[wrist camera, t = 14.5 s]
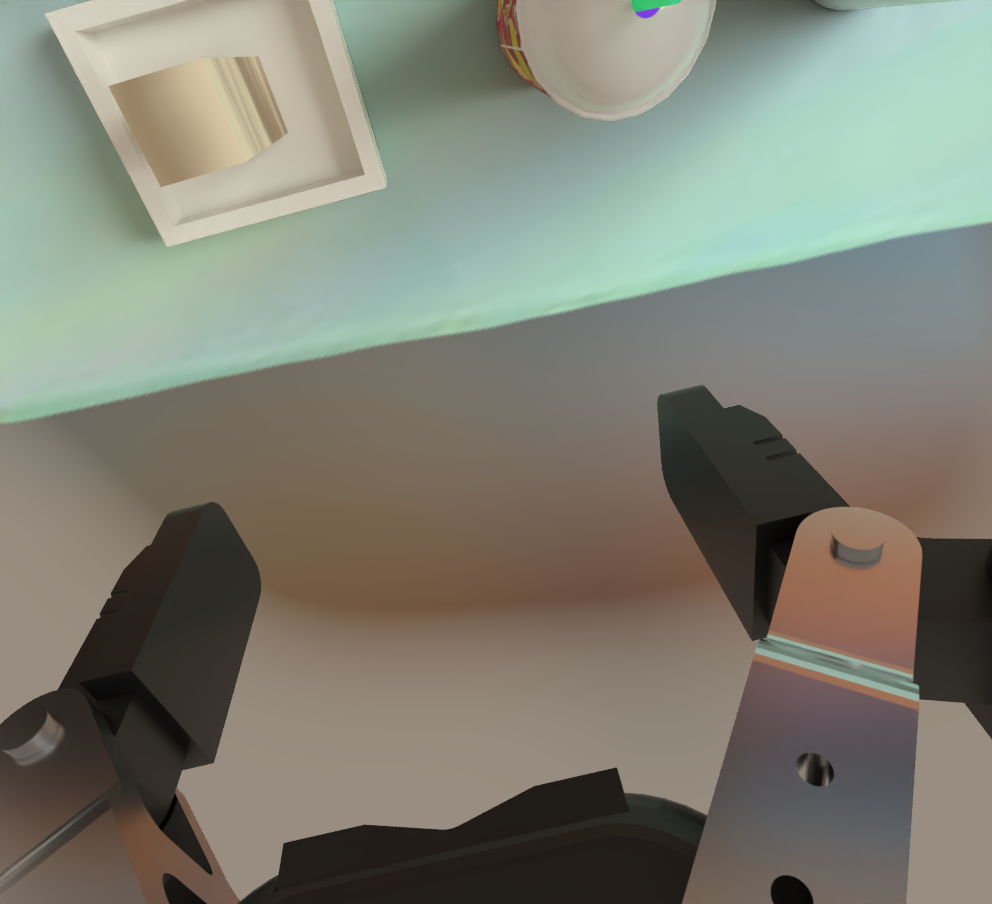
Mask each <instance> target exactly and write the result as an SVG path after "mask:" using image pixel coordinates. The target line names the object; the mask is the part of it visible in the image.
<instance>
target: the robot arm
mask: <svg viewBox="0 0 992 904" xmlns="http://www.w3.org/2000/svg"><path fill="white" fill-rule="evenodd" d="M814 1H815V2H817V3H818V4H820V5H822V6H823V7H827V8H830V9H834V10H855V9H866V8H877V7H891V6H902V5H913V4H923V3H934V2H945V1H955V0H814ZM657 406H658V420H659V421H658V422H659V436H660V449H661V464H662V471H663V476H664V480H665V484H666V487H667V490H668V493H669V495H670V497H671V499H672V501H673V503H674V505H675V506H676V508H677V510H678V512H679V513H680V515H681V517H682V519H683V521H684V522H685V524H686V526H687V528H688V529H689V531H690V533H691V535H692V536H693V538H694V540H695V542H696V543H697V545H698V547H699V549H700V550H701V552H702V554H703V556H704V557H705V559H706V561H707V563H708V564H709V566H710V568H711V570H712V571H713V573H714V575H715V577H716V579H717V580H718V582H719V584H720V586H721V587H722V589H723V591H724V593H725V594H726V596H727V598H728V600H729V601H730V603H731V605H732V607H733V608H734V610H735V612H736V614H737V615H738V617H739V619H740V621H741V622H742V624H743V626H744V628H745V629H746V631H747V633H748V635H749V636H750V638H751V640H752V641H754V640H757V639H761V640H760V641H759V643H758V645H757V648H756V651H755V653H754V657H753V660H752V663H751V667H750V670H749V674H748V677H747V681H746V684H745V688H744V691H743V695H742V698H741V702H740V705H739V708H738V712H737V715H736V719H735V722H734V726H733V729H732V732H731V736H730V740H729V743H728V746H727V750H726V753H725V757H724V760H723V764H722V767H721V770H720V774H719V777H718V781H717V784H716V788H715V791H714V795H713V798H712V802H711V805H710V808H709V812H708V815H705V814H703V813H701V812H699V811H697V810H694V809H692V808H690V807H688V806H686V805H683V804H680V803H677V802H674V801H670V800H668V799H665V798H660V797H654V796H649V795H644V794H634V793H624V791H623V788H622V784H621V780H620V777H619V773H618V770H617V768H612V769H608V770H603V771H599V772H595V773H590V774H586V775H582V776H577V777H573V778H568V779H564V780H560V781H556V782H551V783H546V784H542V785H537V786H534V787H532V788H530V789H528V790H526V791H524V792H522V793H520V794H519V795H517V796H515V797H513V798H511V799H509V800H507V801H505V802H503V803H501V804H499V805H498V806H496V807H494V808H492V809H490V810H488V811H486V812H484V813H482V814H481V815H479V816H477V817H475V818H473V819H471V820H469V821H467V822H465V823H463V824H462V825H460V826H457V827H455V828H452V829H447V830H438V829H421V828H407V827H391V826H390V827H389V826H376V825H362V826H357V827H353V828H348V829H344V830H340V831H335V832H331V833H326V834H322V835H317V836H314V837H309V838H305V839H300V840H296V841H291V842H287V843H284V844H283V850H282V857H281V863H280V869H279V875H277V876H276V877H274V878H272V879H270V880H269V881H267V882H266V883H264V884H263V885H262V886H260V887H258V888H257V889H255V890H254V891H252V892H251V893H250V894H249V895H247V896H246V897H245V898H244V899H243V900H241V901H240V900H239V899H238V897H237V896H236V894H235V893H234V891H233V890H232V888H231V887H230V885H229V883H228V881H227V880H226V878H225V875H224V873H223V872H222V869H221V867H220V865H219V863H218V861H217V860H216V857H215V855H214V853H213V852H212V850H211V847H210V845H209V843H208V841H207V839H206V838H205V836H204V834H203V832H202V829H201V828H200V826H199V824H198V822H197V820H196V818H195V816H194V814H193V812H192V810H191V808H190V806H189V804H188V802H187V800H186V798H185V796H184V795H183V793H181V792H180V791H179V789H178V788H177V784H178V781H179V778H180V775H181V772H182V770H185V769H190V768H194V767H198V766H203V765H207V764H211V763H214V760H215V756H216V753H217V749H218V746H219V742H220V738H221V735H222V731H223V728H224V724H225V720H226V717H227V713H228V709H229V706H230V703H231V699H232V695H233V692H234V688H235V684H236V681H237V677H238V674H239V670H240V666H241V663H242V659H243V656H244V652H245V649H246V645H247V641H248V638H249V634H250V631H251V627H252V623H253V620H254V616H255V612H256V609H257V605H258V602H259V598H260V594H261V579H260V574H259V570H258V567H257V565H256V563H255V561H254V559H253V557H252V555H251V554H250V552H249V551H248V549H247V547H246V546H245V544H244V542H243V541H242V539H241V537H240V536H239V534H238V532H237V531H236V529H235V527H234V526H233V524H232V522H231V521H230V519H229V517H228V516H227V514H226V512H225V511H224V509H223V508H222V507H221V506H220V505H219V504H217V503H215V502H209V503H206V504H201V505H197V506H193V507H189V508H185V509H180V510H176V511H172V512H170V513H169V514H168V515H167V516H166V517H165V519H164V521H163V523H162V525H161V527H160V528H159V530H158V532H157V534H156V536H155V538H154V540H153V542H152V544H151V545H149V546H146V547H145V548H144V549H143V551H142V552H141V553H140V554H139V555H138V556H137V557H136V558H135V559H134V560H133V561H132V562H131V563H130V564H129V565H128V566H127V567H126V568H125V569H124V570H123V572H122V574H121V576H120V578H119V579H118V581H117V583H116V585H115V587H114V589H113V591H112V592H111V598H109V599H108V600H107V601H106V603H105V605H104V607H103V609H102V610H101V613H100V618H99V619H96V621H95V623H94V625H93V627H92V629H91V630H90V632H89V634H88V636H87V638H86V639H85V641H84V643H83V645H82V647H81V648H80V650H79V652H78V654H77V656H76V657H75V659H74V661H73V663H72V665H71V667H70V668H69V670H68V672H67V674H66V676H65V677H64V679H63V681H62V683H61V685H60V687H59V688H58V690H56V691H52V692H49V693H47V694H44V695H41V696H39V697H38V698H35V699H34V700H32V701H30V702H28V703H27V704H25V705H24V706H22V707H21V708H20V709H18V710H17V711H15V712H14V713H13V714H11V715H10V716H9V717H8V718H7V719H5V720H4V722H2V723H1V724H0V904H906V897H907V896H906V895H907V881H908V865H909V849H910V836H911V821H912V805H913V790H914V775H915V760H916V744H917V730H918V714H919V699H922V700H936V701H948V702H962V703H965V704H966V706H967V707H968V708H969V710H970V711H971V712H972V714H973V715H974V716H975V718H976V719H977V720H978V722H979V723H980V724H981V725H982V727H983V728H984V729H985V730H986V732H987V733H988V735H989V736H990V737H991V739H992V539H931V538H919V537H916V536H915V535H914V534H913V533H912V532H911V531H910V530H909V529H908V528H907V527H906V526H905V525H903V524H902V523H901V522H899V521H897V520H895V519H894V518H892V517H889V516H887V515H885V514H882V513H879V512H876V511H873V510H869V509H864V508H856V507H850V506H849V505H848V504H847V503H846V502H845V501H844V500H843V499H842V498H841V496H839V494H838V493H837V492H836V491H835V490H834V489H833V488H832V487H831V486H830V485H829V484H828V483H827V482H826V481H825V480H824V479H823V478H822V476H821V475H820V474H819V473H818V472H817V471H816V470H815V469H814V468H813V467H812V466H811V465H810V464H809V463H808V462H807V461H806V460H805V458H804V457H803V456H802V455H801V454H797V452H796V449H795V448H794V447H793V446H792V445H791V444H790V443H789V442H788V441H787V440H786V439H783V437H782V434H781V433H780V432H779V431H778V430H777V429H776V428H775V427H774V426H773V425H772V424H771V423H770V422H769V421H768V419H767V418H766V417H764V416H762V415H760V414H757V413H755V412H753V411H751V410H749V409H747V408H745V407H743V406H740V405H737V406H733V407H728V408H723V407H722V406H721V405H720V403H719V402H718V401H717V400H716V399H715V398H714V397H713V395H712V394H711V393H710V392H709V391H708V389H707V388H706V387H705V386H703V385H699V386H694V387H691V388H686V389H682V390H678V391H674V392H670V393H666V394H661V395H660V396H659V397H658V403H657ZM762 638H766V640H763V639H762Z"/></svg>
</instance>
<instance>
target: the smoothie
mask: <svg viewBox="0 0 992 904" xmlns="http://www.w3.org/2000/svg"><path fill="white" fill-rule="evenodd" d="M716 3H717V0H498V9H497V24H496V25H497V30H498V36H499V41H500V46H501V48H502V50H503V52H504V54H505V56H506V58H507V60H508V62H509V64H510V66H511V67H512V68H513V69H514V70H515V71H516V72H517V73H518V74H519V75H520V76H521V77H522V78H523V79H524V80H526V81H527V82H529V83H530V84H532V85H533V86H534V87H536V88H537V89H539V90H540V91H542V92H543V93H545V94H546V95H548V96H549V97H550V98H552V99H553V100H554V101H555V102H556V103H557V104H558V105H560V106H562V107H564V108H565V109H567V110H569V111H571V112H573V113H574V114H576V115H578V116H580V117H582V118H585V119H593V120H601V121H610V122H612V121H617V120H621V119H625V118H630V117H634V116H638V115H641V114H643V113H644V112H646V111H647V110H649V109H651V108H652V107H654V106H655V105H657V104H658V103H660V102H662V101H663V100H665V99H666V98H668V97H669V95H670V94H671V93H672V92H673V91H674V90H675V89H676V88H677V87H678V85H679V84H680V83H681V82H682V81H683V80H684V79H685V78H686V77H687V75H688V74H689V73H690V72H691V70H692V68H693V66H694V64H695V62H696V60H697V58H698V56H699V55H700V53H701V51H702V49H703V47H704V45H705V43H706V41H707V39H708V35H709V31H710V27H711V23H712V19H713V15H714V11H715V7H716Z"/></svg>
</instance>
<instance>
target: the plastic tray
mask: <svg viewBox="0 0 992 904" xmlns="http://www.w3.org/2000/svg"><path fill="white" fill-rule="evenodd" d="M45 15H46V17H47V19H48V21H49V23H50V25H51V27H52V29H53V31H54V33H55V34H56V36H57V38H58V40H59V42H60V44H61V46H62V48H63V50H64V52H65V54H66V55H67V57H68V59H69V61H70V63H71V65H72V67H73V69H74V71H75V73H76V75H77V76H78V78H79V80H80V82H81V84H82V86H83V88H84V90H85V92H86V94H87V96H88V97H89V99H90V101H91V103H92V105H93V107H94V109H95V111H96V113H97V115H98V117H99V118H100V120H101V122H102V124H103V126H104V128H105V130H106V132H107V134H108V136H109V138H110V140H111V141H112V143H113V145H114V147H115V149H116V151H117V153H118V155H119V157H120V159H121V161H122V162H123V164H124V166H125V168H126V170H127V172H128V174H129V176H130V178H131V180H132V182H133V183H134V185H135V187H136V189H137V191H138V193H139V195H140V197H141V199H142V201H143V203H144V204H145V206H146V208H147V210H148V212H149V214H150V216H151V218H152V220H153V222H154V224H155V225H156V227H157V229H158V231H159V233H160V235H161V237H162V239H163V241H164V243H165V245H166V247H169V246H173V245H176V244H180V243H184V242H188V241H191V240H195V239H199V238H202V237H206V236H210V235H213V234H217V233H221V232H225V231H228V230H232V229H236V228H239V227H243V226H247V225H250V224H254V223H258V222H262V221H265V220H269V219H273V218H276V217H280V216H284V215H287V214H291V213H295V212H299V211H302V210H306V209H310V208H313V207H317V206H321V205H324V204H328V203H332V202H335V201H339V200H343V199H347V198H350V197H354V196H358V195H361V194H365V193H369V192H372V191H376V190H380V189H384V188H386V186H387V177H386V173H385V170H384V167H383V163H382V160H381V157H380V154H379V150H378V147H377V144H376V140H375V137H374V134H373V130H372V127H371V124H370V121H369V117H368V114H367V111H366V107H365V104H364V101H363V98H362V94H361V91H360V88H359V84H358V81H357V78H356V74H355V71H354V68H353V65H352V61H351V58H350V55H349V51H348V48H347V45H346V41H345V38H344V35H343V32H342V28H341V25H340V22H339V18H338V15H337V12H336V9H335V5H334V2H333V0H91V1H87V2H84V3H80V4H77V5H73V6H69V7H66V8H62V9H59V10H55V11H52V12H48V13H45ZM256 56H258V57H259V60H260V62H261V65H262V68H263V70H264V73H265V75H266V78H267V80H268V83H269V85H270V88H271V90H272V93H273V96H274V98H275V101H276V103H277V106H278V108H279V111H280V113H281V116H282V119H283V121H284V124H285V126H286V129H287V131H288V133H287V134H285V135H284V136H283V137H281V138H280V139H278V140H277V141H275V142H274V143H273V144H271V145H270V146H268V147H267V148H266V149H264V150H263V151H261V152H260V153H258V154H257V155H256V156H254V157H253V158H251V159H250V160H249V161H247V162H245V163H241V164H238V165H235V166H231V167H228V168H225V169H221V170H218V171H214V172H211V173H208V174H204V175H201V176H197V177H194V178H191V179H187V180H184V181H181V182H177V183H174V184H170V185H167V186H164V187H160V185H159V183H158V181H157V179H156V177H155V175H154V173H153V171H152V169H151V168H150V166H149V164H148V162H147V160H146V158H145V156H144V154H143V152H142V150H141V148H140V146H139V145H138V143H137V141H136V139H135V137H134V135H133V133H132V131H131V129H130V127H129V125H128V123H127V122H126V120H125V118H124V116H123V114H122V112H121V110H120V108H119V106H118V104H117V102H116V100H115V98H114V97H113V95H112V93H111V91H110V89H109V87H108V86H110V85H113V84H117V83H120V82H123V81H127V80H130V79H133V78H137V77H140V76H143V75H147V74H150V73H153V72H157V71H160V70H163V69H167V68H170V67H173V66H177V65H180V64H183V63H187V62H190V61H193V60H197V59H200V58H223V57H256Z"/></svg>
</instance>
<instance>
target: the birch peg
mask: <svg viewBox="0 0 992 904" xmlns="http://www.w3.org/2000/svg"><path fill="white" fill-rule="evenodd" d="M108 87H109V89H110V91H111V93H112V95H113V97H114V98H115V100H116V102H117V104H118V106H119V108H120V110H121V112H122V114H123V116H124V118H125V120H126V122H127V123H128V125H129V127H130V129H131V131H132V133H133V135H134V137H135V139H136V141H137V143H138V145H139V146H140V148H141V150H142V152H143V154H144V156H145V158H146V160H147V162H148V164H149V166H150V168H151V169H152V171H153V173H154V175H155V177H156V179H157V181H158V183H159V185H160V187H164V186H167V185H170V184H174V183H177V182H181V181H184V180H187V179H191V178H194V177H197V176H201V175H204V174H208V173H211V172H214V171H218V170H221V169H225V168H228V167H231V166H235V165H238V164H241V163H245V162H247V161H249V160H250V159H251V158H253V157H254V156H256V155H257V154H258V153H260V152H261V151H263V150H264V149H266V148H267V147H268V146H270V145H271V144H273V143H274V142H275V141H277V140H278V139H280V138H281V137H283V136H284V135H285V134H287V133H288V131H287V129H286V126H285V124H284V121H283V119H282V116H281V113H280V111H279V108H278V106H277V103H276V101H275V98H274V96H273V93H272V90H271V88H270V85H269V83H268V80H267V78H266V75H265V73H264V70H263V68H262V65H261V62H260V60H259V57H258V56H256V57H223V58H200V59H197V60H193V61H190V62H187V63H183V64H180V65H177V66H173V67H170V68H167V69H163V70H160V71H157V72H153V73H150V74H147V75H143V76H140V77H137V78H133V79H130V80H127V81H123V82H120V83H117V84H113V85H110V86H108Z"/></svg>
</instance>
